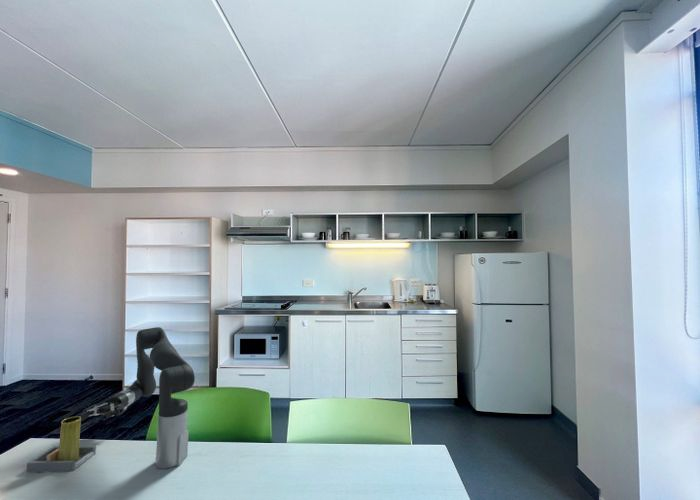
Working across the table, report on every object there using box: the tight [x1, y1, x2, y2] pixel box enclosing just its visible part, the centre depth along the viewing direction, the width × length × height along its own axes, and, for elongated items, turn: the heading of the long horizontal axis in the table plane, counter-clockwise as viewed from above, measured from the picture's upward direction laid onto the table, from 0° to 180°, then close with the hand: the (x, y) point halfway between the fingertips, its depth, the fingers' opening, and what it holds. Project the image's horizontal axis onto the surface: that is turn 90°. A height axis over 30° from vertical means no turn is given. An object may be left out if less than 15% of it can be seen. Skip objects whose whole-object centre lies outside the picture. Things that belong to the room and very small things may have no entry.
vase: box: [57, 415, 82, 461], centre depth 109 cm, size 6×6×14 cm
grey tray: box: [25, 445, 97, 473], centre depth 108 cm, size 15×10×3 cm, turn 93°
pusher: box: [46, 448, 59, 461], centre depth 108 cm, size 1×7×4 cm, turn 2°
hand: (91, 418), depth 120 cm, fingers open, 8 cm apart
